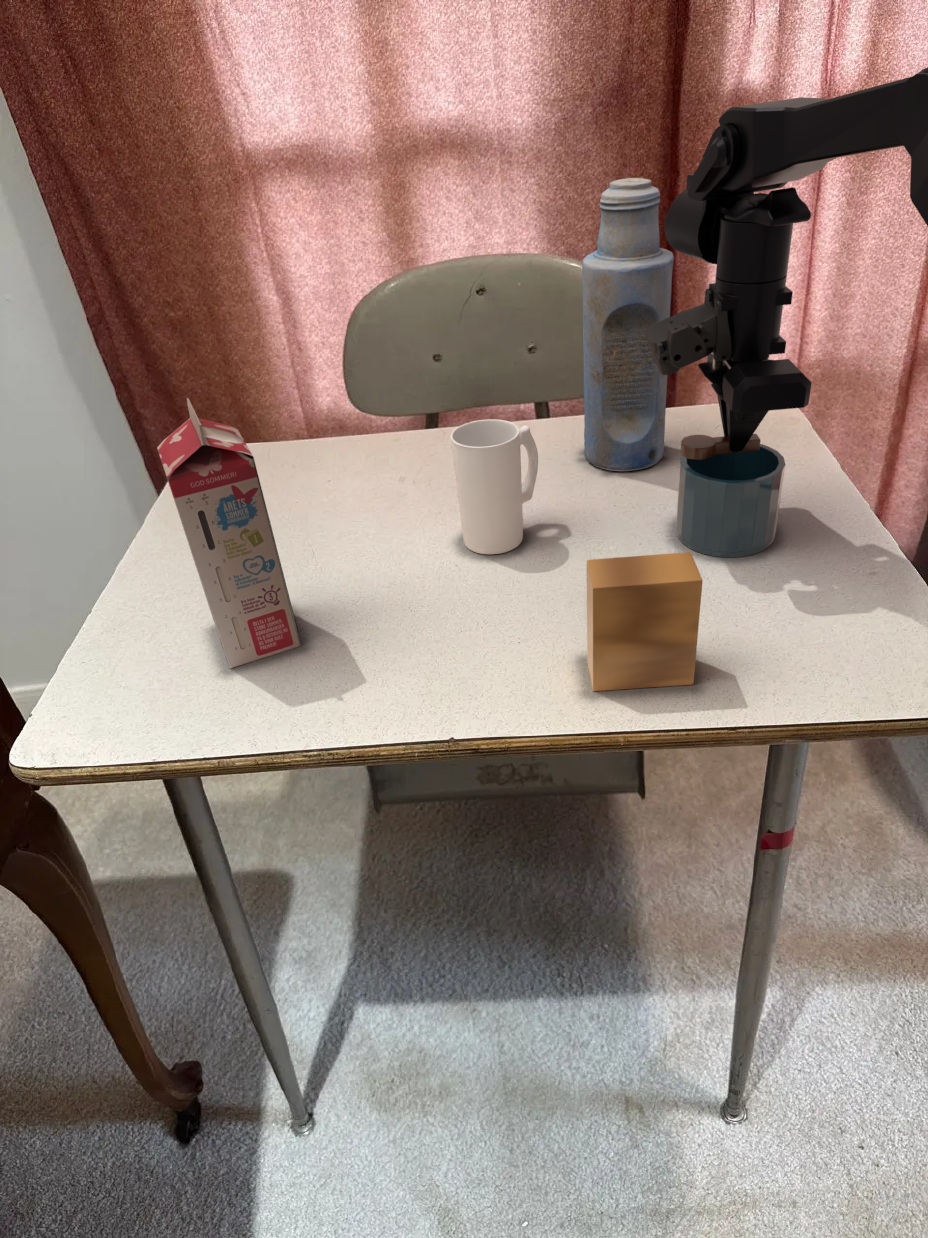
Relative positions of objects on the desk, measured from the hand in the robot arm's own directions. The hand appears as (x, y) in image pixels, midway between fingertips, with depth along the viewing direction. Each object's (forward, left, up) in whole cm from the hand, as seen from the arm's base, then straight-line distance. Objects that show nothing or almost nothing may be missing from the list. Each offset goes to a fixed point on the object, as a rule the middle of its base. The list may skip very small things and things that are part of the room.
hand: (733, 447), depth 80 cm
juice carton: (+34, +33, -10) cm, 48 cm away
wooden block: (0, +24, -9) cm, 26 cm away
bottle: (+16, -14, -10) cm, 23 cm away
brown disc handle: (+1, +1, 0) cm, 1 cm away
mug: (+21, +8, -10) cm, 24 cm away
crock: (0, 0, -9) cm, 9 cm away
